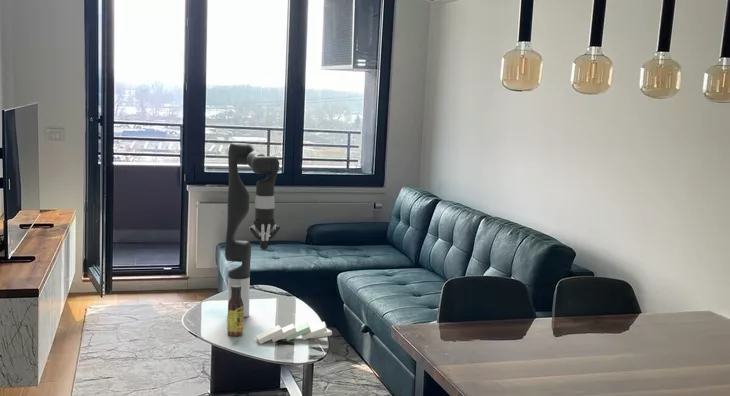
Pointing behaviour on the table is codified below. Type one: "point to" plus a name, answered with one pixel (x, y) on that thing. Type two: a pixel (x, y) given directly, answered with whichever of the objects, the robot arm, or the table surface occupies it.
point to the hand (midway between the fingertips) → (263, 249)
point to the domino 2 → (285, 332)
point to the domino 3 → (299, 331)
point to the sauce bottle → (235, 312)
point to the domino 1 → (269, 334)
